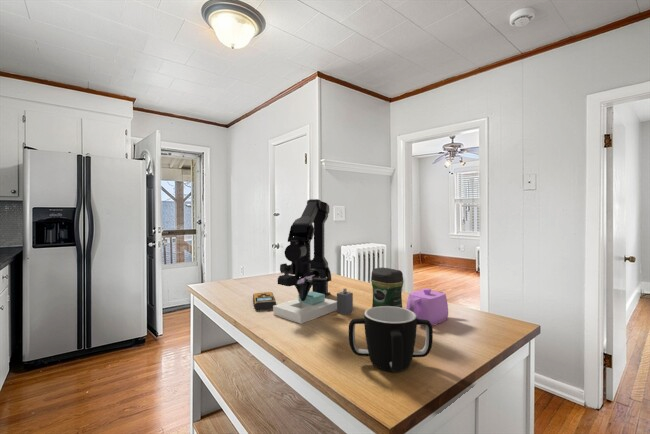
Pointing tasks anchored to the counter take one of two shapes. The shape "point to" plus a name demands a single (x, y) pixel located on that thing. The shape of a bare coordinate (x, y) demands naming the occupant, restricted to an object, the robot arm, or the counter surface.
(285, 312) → the socket plate
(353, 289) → the counter surface
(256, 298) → the electronic device
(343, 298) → the plug
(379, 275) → the coffee jar
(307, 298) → the block
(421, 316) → the teapot
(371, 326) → the mug
